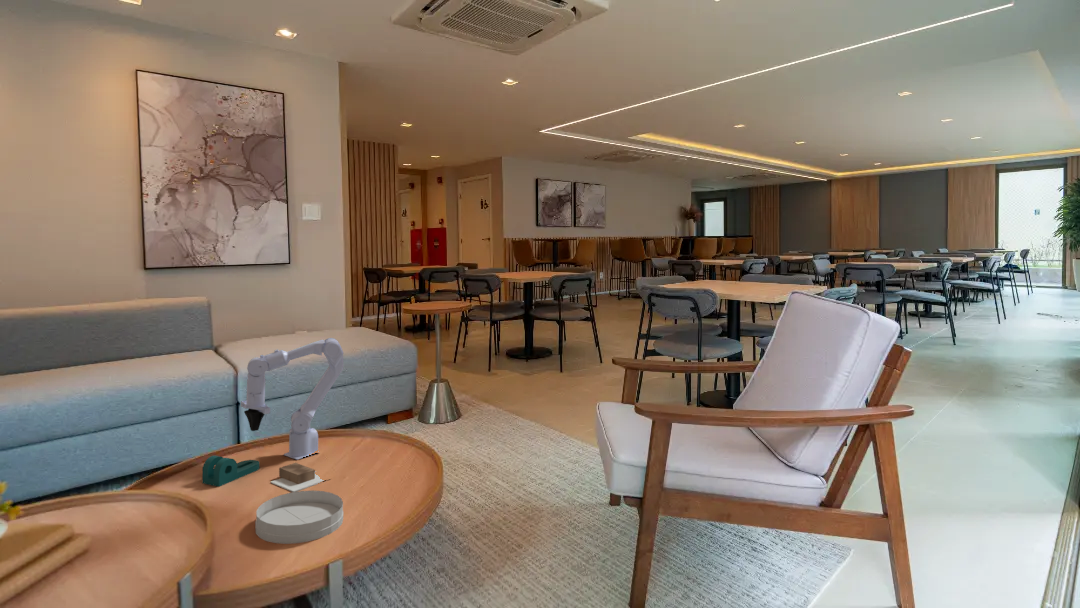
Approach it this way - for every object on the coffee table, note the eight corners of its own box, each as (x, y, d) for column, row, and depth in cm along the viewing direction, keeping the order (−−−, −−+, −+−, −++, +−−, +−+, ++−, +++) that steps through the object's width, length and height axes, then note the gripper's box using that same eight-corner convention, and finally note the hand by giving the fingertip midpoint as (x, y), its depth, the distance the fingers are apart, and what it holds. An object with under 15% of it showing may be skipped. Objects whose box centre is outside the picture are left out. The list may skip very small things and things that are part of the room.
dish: (317, 500, 168) (317, 483, 168) (359, 524, 155) (359, 506, 154) (240, 524, 151) (240, 506, 151) (279, 554, 137) (280, 534, 137)
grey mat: (309, 470, 190) (309, 469, 190) (332, 478, 184) (332, 477, 184) (270, 482, 178) (270, 481, 178) (293, 492, 172) (293, 491, 172)
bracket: (219, 487, 174) (219, 462, 173) (202, 483, 176) (202, 459, 175) (263, 468, 191) (264, 445, 190) (248, 465, 193) (248, 442, 192)
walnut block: (295, 462, 187) (314, 469, 182) (295, 471, 188) (314, 478, 182) (279, 467, 182) (298, 475, 177) (279, 476, 183) (298, 484, 177)
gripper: (233, 390, 197) (231, 428, 198) (257, 397, 189) (255, 437, 190) (252, 387, 203) (251, 424, 204) (276, 394, 195) (274, 432, 196)
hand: (254, 430), depth 197 cm, fingers closed
